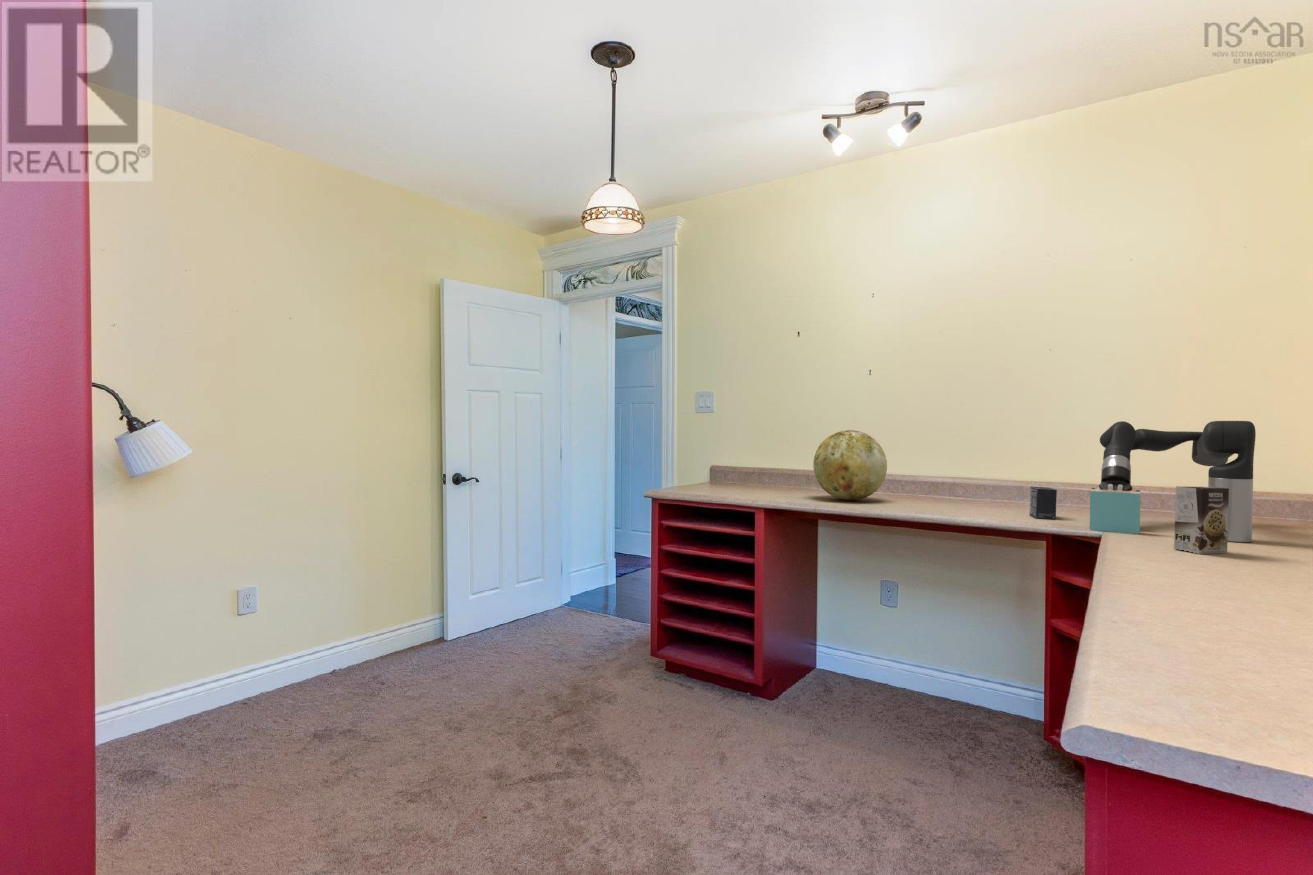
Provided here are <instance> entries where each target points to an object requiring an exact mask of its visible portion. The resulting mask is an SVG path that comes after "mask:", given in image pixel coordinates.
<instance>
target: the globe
mask: <svg viewBox="0 0 1313 875" xmlns="http://www.w3.org/2000/svg"><path fill="white" fill-rule="evenodd" d="M812 468H813V474H814V477H815V479H816V481H817V483H818V485H819V486H820V488H822V489H823V491H824V492H825V493H827V494H829V495H830V496H832V497H833V498H835V499H838V500H842V501H847V502H848V501H851V502H852V501H860V500H863V499H866V498H868V497H870V496H871V495H873V494H875V493H876V492H877V491H878V489H879V488H880V487H881V486H882V484H883V483H884V481H885V479H886V476H887V470H888V460H887V456H886V454H885V451H884V449H883V448H882V446H881V444H880V443H879V442H878V441H877V440H876V439H875V438H873V437H872V436H871V435H869V434H867V433H865V432H863V431H859V430H852V429H851V430H850V429H848V430H840V431H837V432H835V433H832V434H831V435H829V436H827V437H826V438H824V440H823V441H822V442H821V443H819V446H818V447H817V450H816V451H815V453H814V457H813V466H812Z"/></svg>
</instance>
